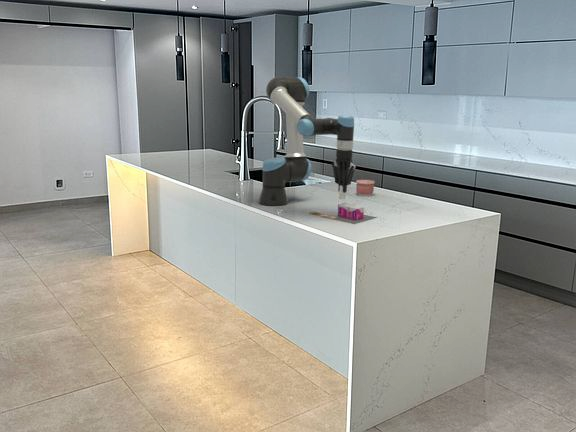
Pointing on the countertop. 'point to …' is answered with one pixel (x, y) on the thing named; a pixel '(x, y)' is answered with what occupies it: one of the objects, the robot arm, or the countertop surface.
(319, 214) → the turner
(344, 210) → the supplement box
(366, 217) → the mat
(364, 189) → the container
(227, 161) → the countertop surface
